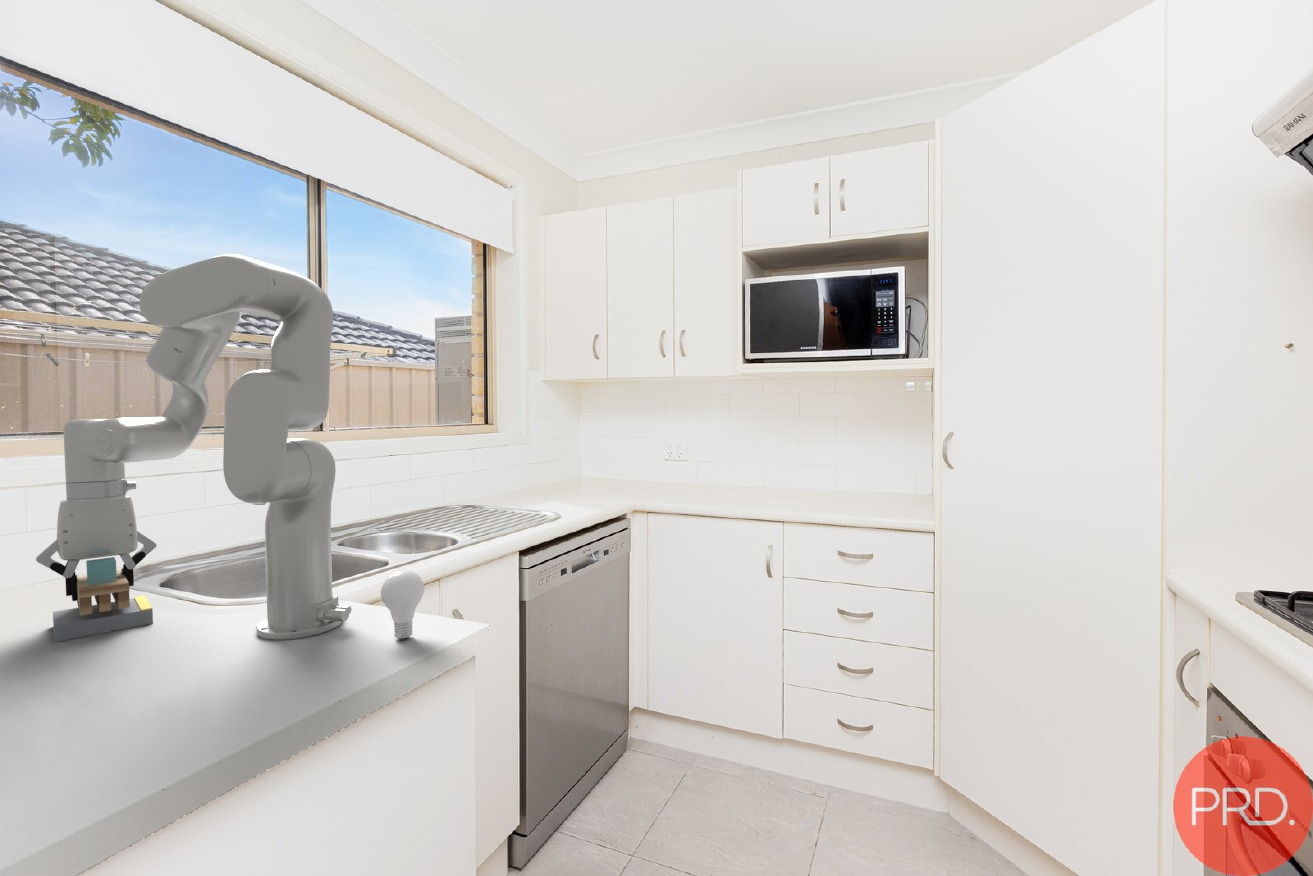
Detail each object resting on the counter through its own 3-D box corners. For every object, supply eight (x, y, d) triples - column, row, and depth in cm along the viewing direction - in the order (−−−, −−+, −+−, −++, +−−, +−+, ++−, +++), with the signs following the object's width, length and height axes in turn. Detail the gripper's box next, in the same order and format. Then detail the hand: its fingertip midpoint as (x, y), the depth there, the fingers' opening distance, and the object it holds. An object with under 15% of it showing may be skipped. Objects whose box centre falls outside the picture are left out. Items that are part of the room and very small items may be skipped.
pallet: (129, 607, 103) (128, 583, 102) (80, 615, 98) (79, 590, 98) (122, 592, 111) (121, 570, 111) (76, 599, 107) (75, 576, 107)
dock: (153, 623, 106) (152, 607, 106) (55, 642, 97) (54, 625, 97) (145, 610, 113) (144, 595, 113) (53, 626, 104) (52, 610, 104)
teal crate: (116, 581, 104) (115, 560, 103) (88, 585, 101) (87, 564, 101) (114, 577, 106) (114, 557, 106) (87, 581, 104) (86, 560, 103)
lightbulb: (433, 635, 100) (432, 568, 100) (402, 649, 94) (401, 577, 94) (404, 629, 103) (403, 563, 102) (372, 642, 97) (371, 573, 96)
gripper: (157, 484, 115) (161, 581, 115) (24, 493, 102) (29, 601, 103) (163, 488, 109) (167, 589, 110) (24, 498, 97) (29, 611, 98)
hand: (100, 594), depth 107 cm, fingers closed on pallet, 5 cm apart
